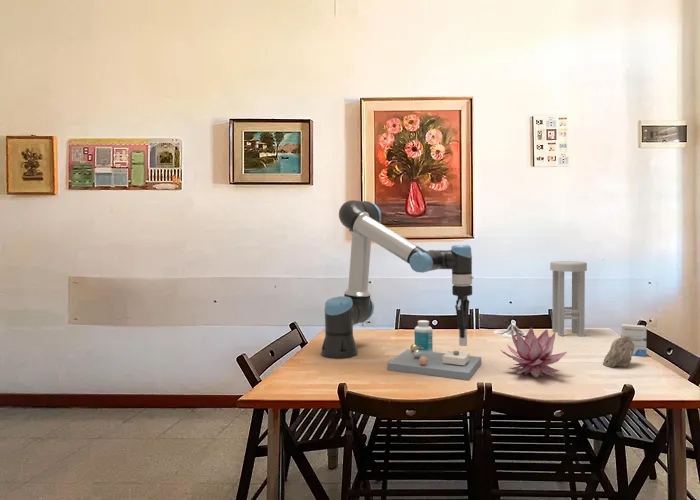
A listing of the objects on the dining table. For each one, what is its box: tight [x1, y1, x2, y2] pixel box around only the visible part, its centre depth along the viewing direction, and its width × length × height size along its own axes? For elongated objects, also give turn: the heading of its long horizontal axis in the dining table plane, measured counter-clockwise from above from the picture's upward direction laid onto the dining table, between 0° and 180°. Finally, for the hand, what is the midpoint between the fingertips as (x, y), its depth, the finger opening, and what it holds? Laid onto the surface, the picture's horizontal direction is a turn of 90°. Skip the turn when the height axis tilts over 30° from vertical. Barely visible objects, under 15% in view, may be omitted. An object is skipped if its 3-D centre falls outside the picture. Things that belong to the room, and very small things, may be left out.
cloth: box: [493, 322, 537, 339], centre depth 231 cm, size 22×19×6 cm
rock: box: [602, 336, 635, 368], centre depth 176 cm, size 14×10×8 cm
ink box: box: [620, 323, 648, 357], centre depth 191 cm, size 8×5×12 cm, turn 65°
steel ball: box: [413, 350, 422, 358], centre depth 181 cm, size 3×3×3 cm
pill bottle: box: [414, 319, 433, 352], centre depth 197 cm, size 8×7×14 cm
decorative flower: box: [500, 327, 568, 378], centre depth 167 cm, size 21×21×15 cm
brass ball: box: [409, 343, 418, 352], centre depth 190 cm, size 3×3×3 cm
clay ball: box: [419, 356, 428, 365], centre depth 171 cm, size 3×3×3 cm
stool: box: [549, 260, 588, 338], centre depth 228 cm, size 16×16×35 cm
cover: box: [443, 350, 470, 365], centre depth 174 cm, size 8×8×4 cm
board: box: [386, 348, 482, 381], centre depth 178 cm, size 30×22×2 cm
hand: (463, 345), depth 182 cm, fingers closed
